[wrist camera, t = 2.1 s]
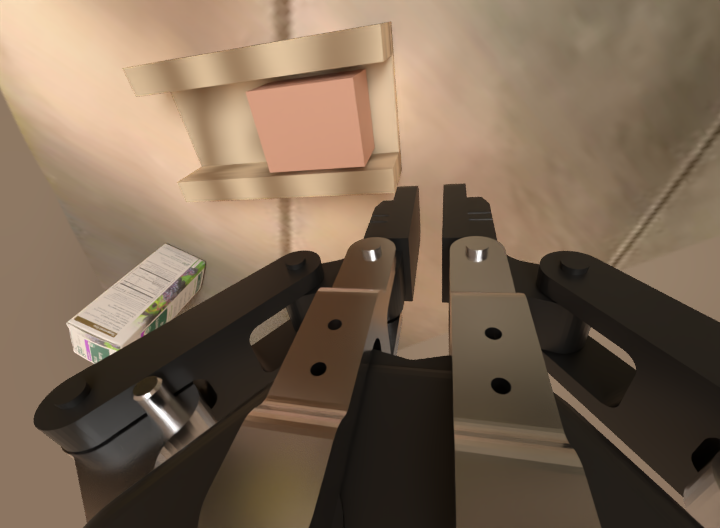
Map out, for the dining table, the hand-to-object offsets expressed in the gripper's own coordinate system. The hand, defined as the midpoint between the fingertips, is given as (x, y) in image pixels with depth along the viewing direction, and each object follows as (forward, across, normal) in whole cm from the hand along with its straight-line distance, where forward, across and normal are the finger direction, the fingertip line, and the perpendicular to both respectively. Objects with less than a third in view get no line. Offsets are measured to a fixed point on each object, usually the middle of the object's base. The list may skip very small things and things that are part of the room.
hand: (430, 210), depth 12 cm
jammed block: (+18, +9, 0) cm, 20 cm away
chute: (+19, +14, 0) cm, 23 cm away
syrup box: (+19, +34, +17) cm, 42 cm away
